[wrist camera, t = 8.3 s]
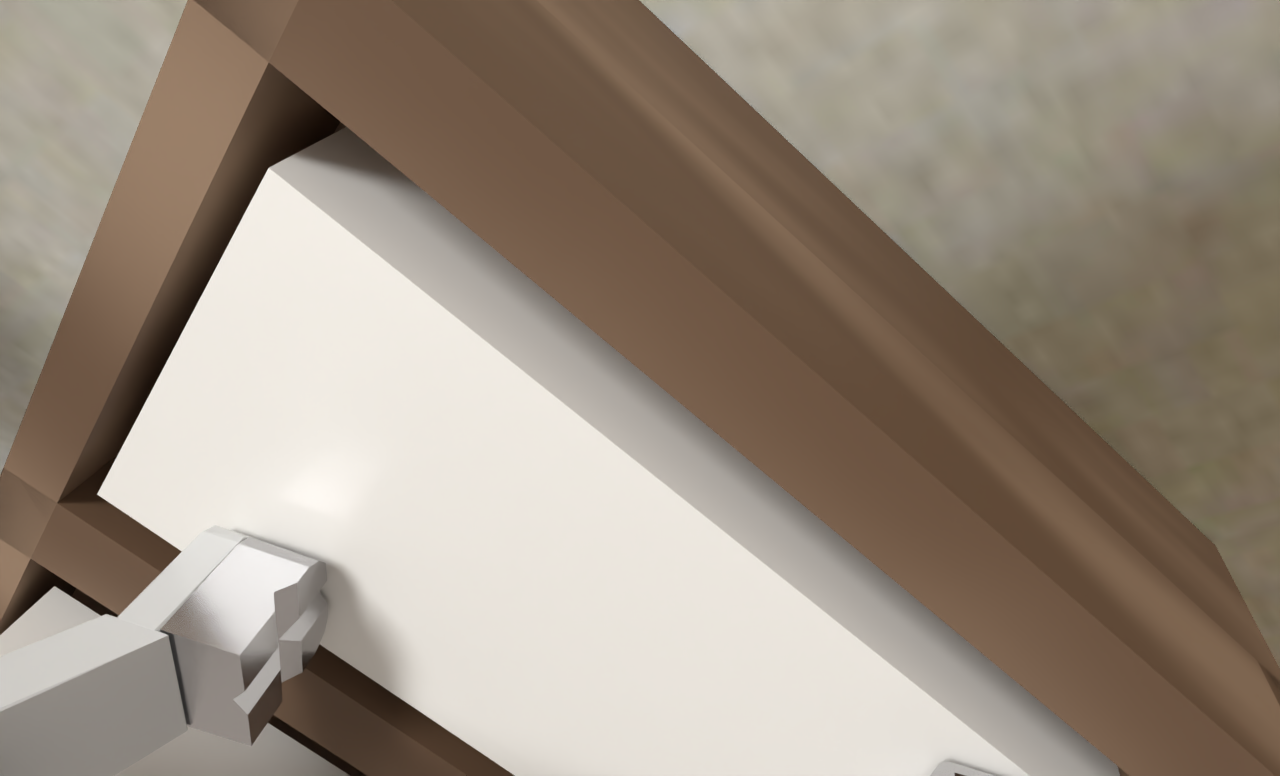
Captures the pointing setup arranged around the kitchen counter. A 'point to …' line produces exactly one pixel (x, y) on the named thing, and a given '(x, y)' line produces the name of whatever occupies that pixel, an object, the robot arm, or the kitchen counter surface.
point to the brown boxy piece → (647, 356)
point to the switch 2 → (537, 516)
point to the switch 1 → (196, 760)
